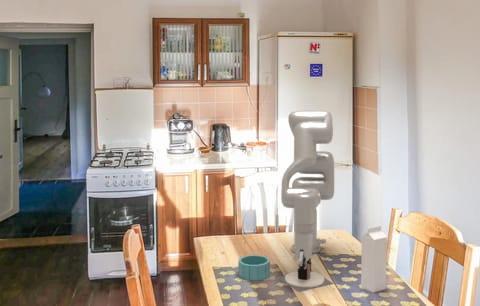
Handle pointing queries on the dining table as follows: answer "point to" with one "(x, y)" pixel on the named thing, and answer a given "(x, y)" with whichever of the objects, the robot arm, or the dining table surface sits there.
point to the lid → (311, 282)
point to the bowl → (254, 267)
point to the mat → (326, 282)
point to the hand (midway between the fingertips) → (304, 275)
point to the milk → (374, 260)
